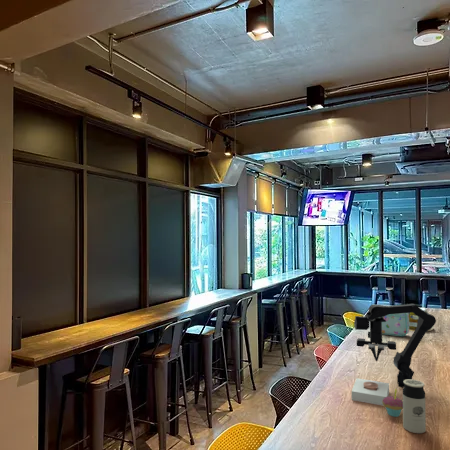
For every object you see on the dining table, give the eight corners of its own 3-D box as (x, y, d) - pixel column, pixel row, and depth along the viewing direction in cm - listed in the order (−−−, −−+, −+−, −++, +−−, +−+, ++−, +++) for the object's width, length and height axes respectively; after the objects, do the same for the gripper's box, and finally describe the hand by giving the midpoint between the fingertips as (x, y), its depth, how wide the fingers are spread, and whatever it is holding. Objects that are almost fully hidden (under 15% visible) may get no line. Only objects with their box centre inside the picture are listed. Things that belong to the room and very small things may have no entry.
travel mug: (401, 422, 158) (401, 377, 158) (423, 425, 156) (422, 380, 156) (404, 432, 150) (404, 385, 151) (427, 435, 148) (427, 387, 149)
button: (378, 391, 186) (378, 383, 186) (377, 396, 180) (377, 387, 180) (364, 389, 189) (364, 380, 189) (362, 394, 183) (362, 385, 183)
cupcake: (409, 417, 163) (408, 388, 163) (391, 420, 160) (391, 390, 160) (394, 408, 171) (394, 380, 171) (378, 411, 168) (377, 383, 169)
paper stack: (428, 333, 300) (428, 312, 300) (395, 328, 316) (395, 307, 317) (437, 328, 318) (437, 307, 318) (405, 323, 335) (405, 303, 335)
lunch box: (369, 333, 301) (369, 305, 302) (373, 330, 310) (372, 303, 310) (407, 338, 286) (407, 309, 287) (409, 335, 295) (409, 306, 295)
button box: (389, 391, 189) (389, 383, 189) (386, 406, 173) (386, 397, 173) (356, 386, 196) (356, 378, 196) (351, 399, 180) (351, 391, 180)
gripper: (395, 328, 203) (396, 358, 203) (358, 325, 211) (358, 354, 210) (395, 333, 193) (396, 365, 193) (356, 329, 201) (356, 360, 200)
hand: (376, 360), depth 199 cm, fingers closed
